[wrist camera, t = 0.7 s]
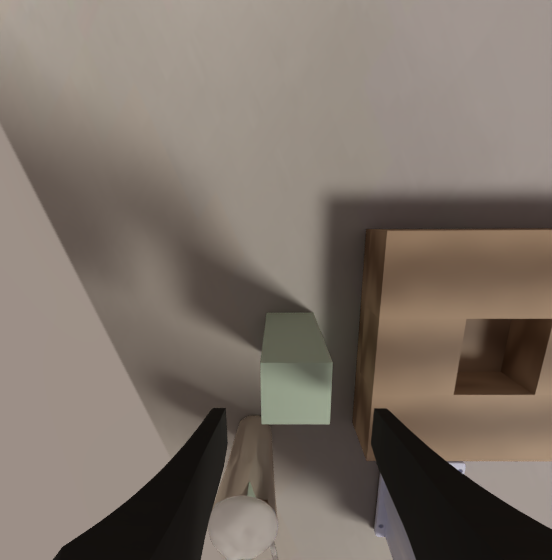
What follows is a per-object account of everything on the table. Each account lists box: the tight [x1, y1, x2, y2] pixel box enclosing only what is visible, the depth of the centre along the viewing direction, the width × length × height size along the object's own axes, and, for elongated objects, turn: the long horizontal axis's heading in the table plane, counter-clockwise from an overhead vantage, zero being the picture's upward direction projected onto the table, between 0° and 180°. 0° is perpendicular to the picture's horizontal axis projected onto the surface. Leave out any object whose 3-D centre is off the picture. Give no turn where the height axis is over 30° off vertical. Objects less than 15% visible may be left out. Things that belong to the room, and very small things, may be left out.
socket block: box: [352, 228, 552, 461], centre depth 20 cm, size 18×18×4 cm
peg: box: [260, 313, 333, 424], centre depth 18 cm, size 4×4×8 cm
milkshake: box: [208, 415, 278, 560], centre depth 20 cm, size 5×5×10 cm
